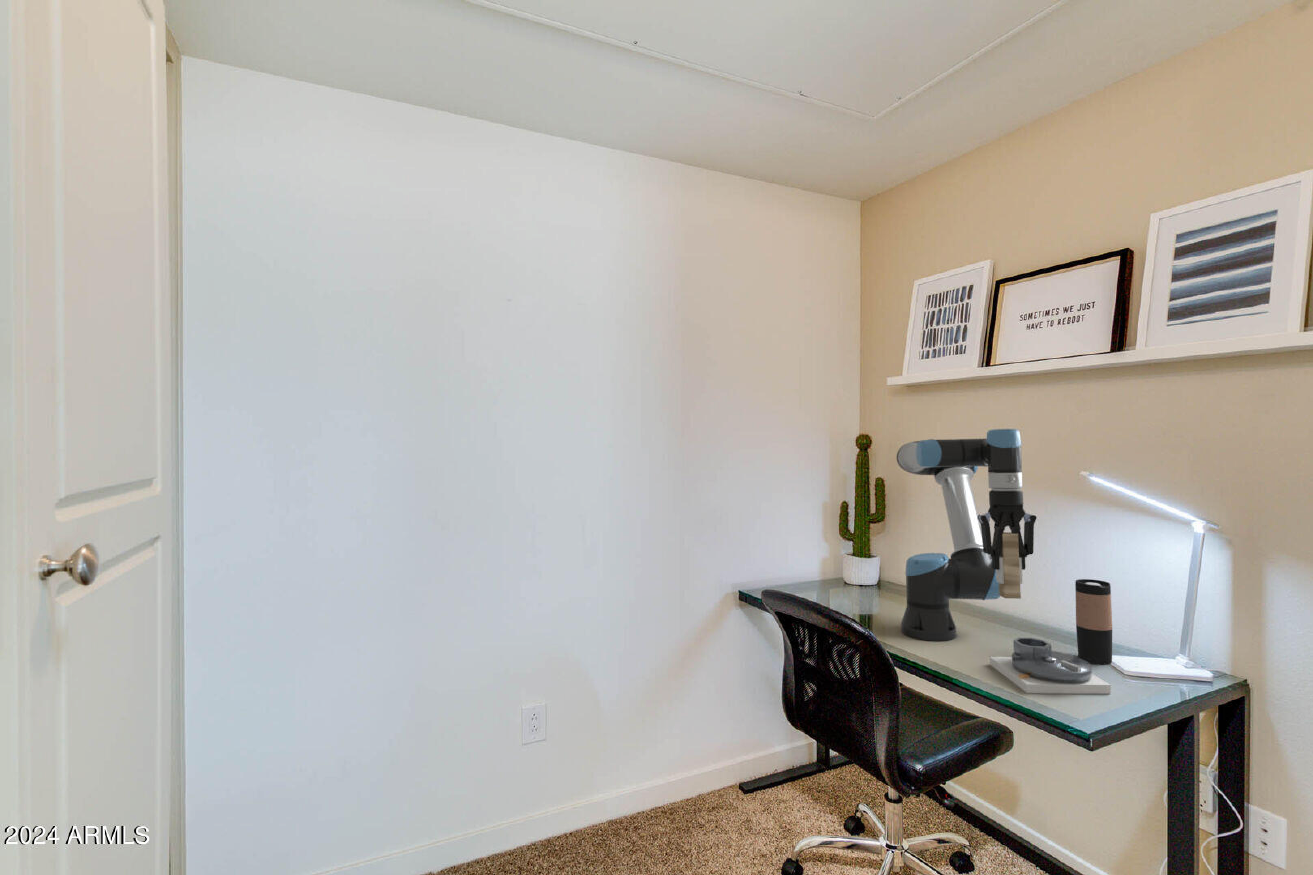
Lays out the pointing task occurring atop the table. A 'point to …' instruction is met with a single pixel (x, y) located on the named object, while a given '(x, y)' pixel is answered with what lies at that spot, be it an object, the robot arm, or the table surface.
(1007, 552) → the stick
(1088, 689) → the plate
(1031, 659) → the dial
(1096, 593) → the travel mug
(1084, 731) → the table surface
